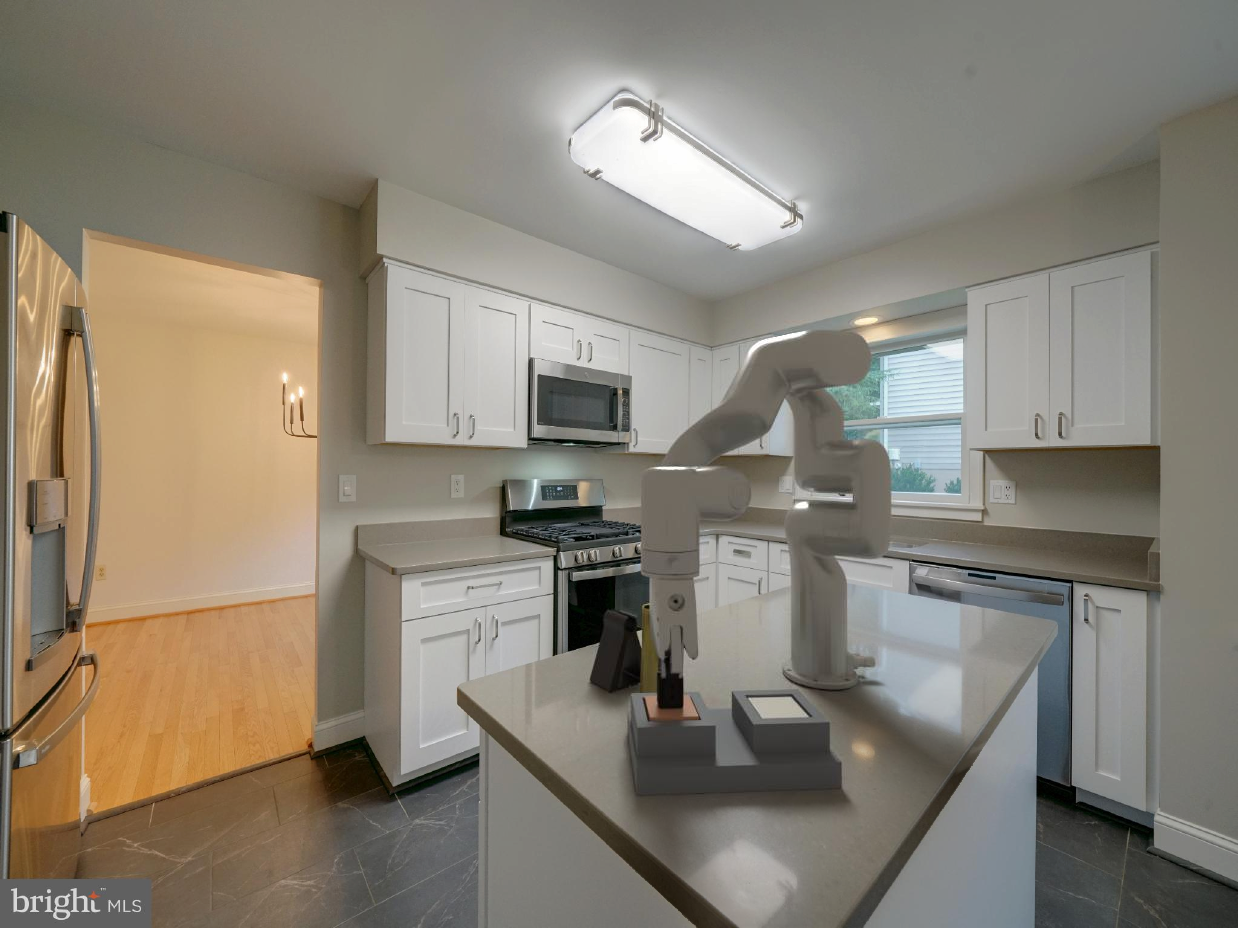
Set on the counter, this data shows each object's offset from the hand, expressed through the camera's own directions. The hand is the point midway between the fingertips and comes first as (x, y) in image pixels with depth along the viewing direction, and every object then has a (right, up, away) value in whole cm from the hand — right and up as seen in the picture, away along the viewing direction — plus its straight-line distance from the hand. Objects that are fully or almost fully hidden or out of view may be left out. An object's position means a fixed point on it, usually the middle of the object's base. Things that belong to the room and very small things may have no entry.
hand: (670, 705), depth 65 cm
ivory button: (+14, -4, +1) cm, 15 cm away
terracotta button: (0, -3, 0) cm, 3 cm away
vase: (0, -7, +20) cm, 21 cm away
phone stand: (-6, -8, +25) cm, 27 cm away
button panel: (+7, -7, 0) cm, 10 cm away
